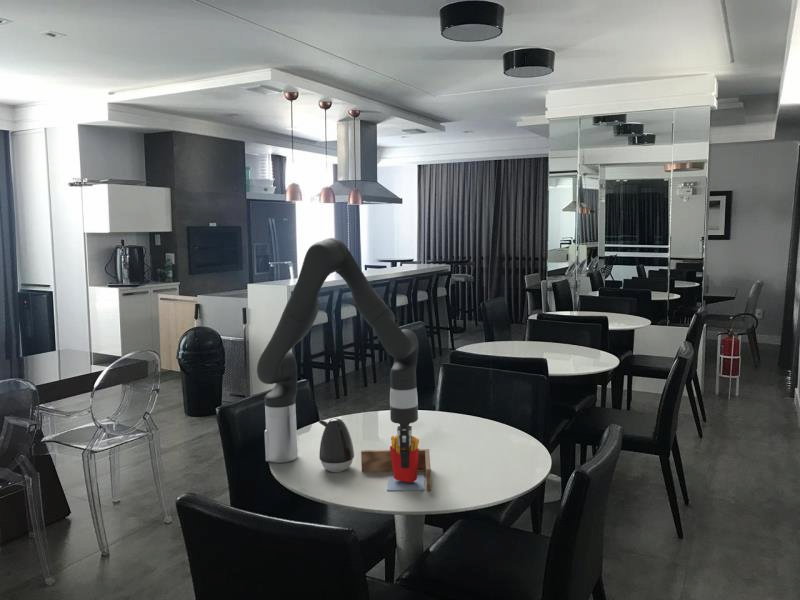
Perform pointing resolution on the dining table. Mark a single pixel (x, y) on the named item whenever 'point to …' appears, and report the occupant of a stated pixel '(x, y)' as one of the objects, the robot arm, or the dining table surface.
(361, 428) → the dining table surface
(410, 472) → the french fries
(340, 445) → the pump dispenser
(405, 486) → the mat
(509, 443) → the dining table surface
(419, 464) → the wooden corner bracket
